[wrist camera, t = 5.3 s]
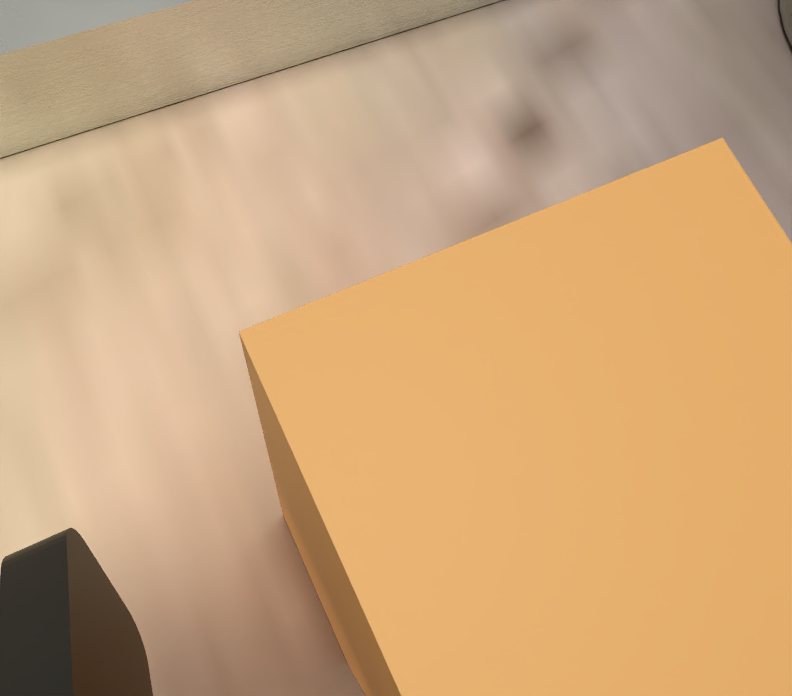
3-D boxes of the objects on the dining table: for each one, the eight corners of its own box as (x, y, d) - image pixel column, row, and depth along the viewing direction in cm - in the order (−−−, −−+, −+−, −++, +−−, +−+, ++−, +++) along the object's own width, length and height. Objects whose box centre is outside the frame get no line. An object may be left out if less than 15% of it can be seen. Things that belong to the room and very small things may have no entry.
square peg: (419, 451, 16) (722, 138, 5) (486, 589, 15) (1043, 627, 4) (283, 515, 15) (237, 330, 4) (348, 664, 14) (530, 989, 3)
